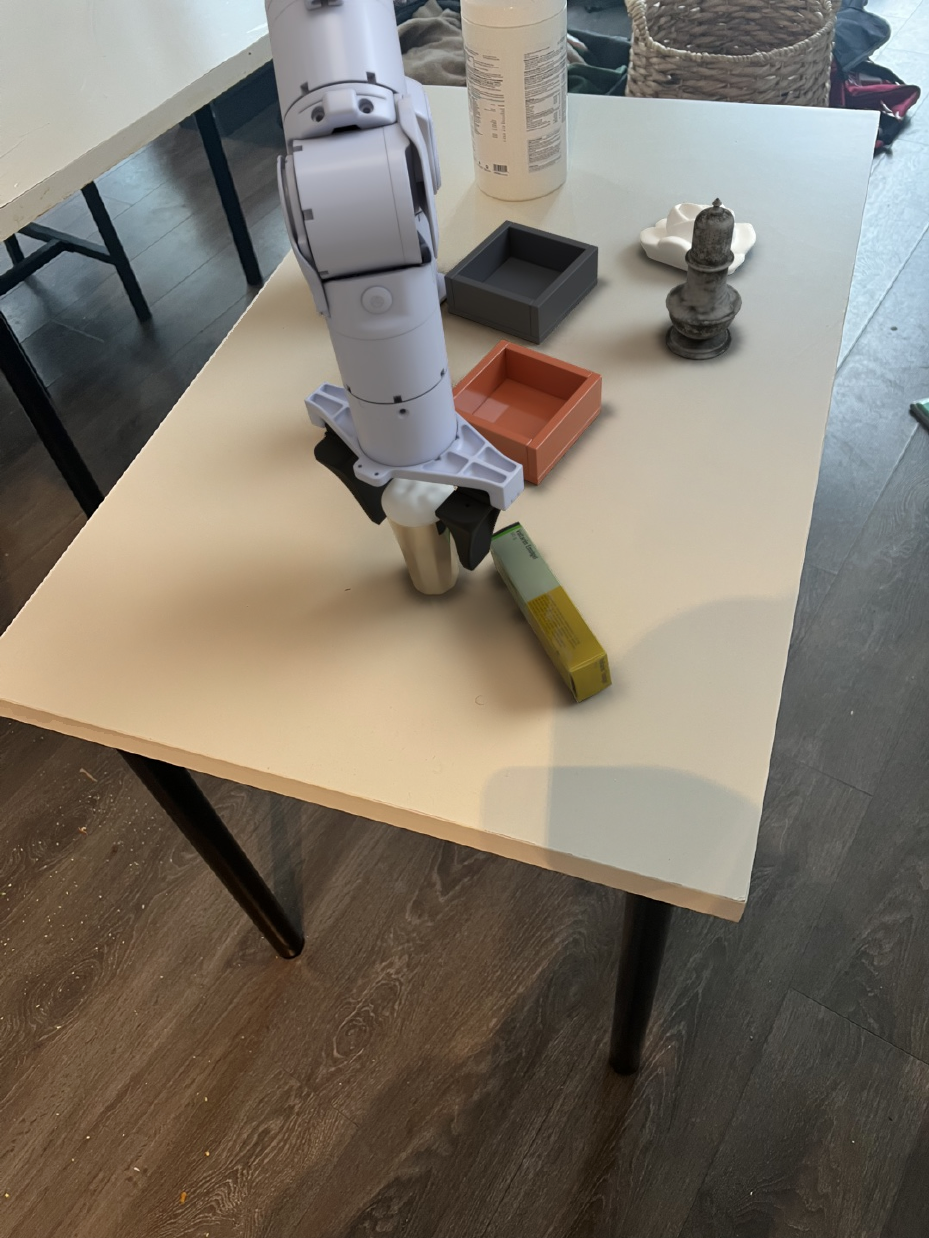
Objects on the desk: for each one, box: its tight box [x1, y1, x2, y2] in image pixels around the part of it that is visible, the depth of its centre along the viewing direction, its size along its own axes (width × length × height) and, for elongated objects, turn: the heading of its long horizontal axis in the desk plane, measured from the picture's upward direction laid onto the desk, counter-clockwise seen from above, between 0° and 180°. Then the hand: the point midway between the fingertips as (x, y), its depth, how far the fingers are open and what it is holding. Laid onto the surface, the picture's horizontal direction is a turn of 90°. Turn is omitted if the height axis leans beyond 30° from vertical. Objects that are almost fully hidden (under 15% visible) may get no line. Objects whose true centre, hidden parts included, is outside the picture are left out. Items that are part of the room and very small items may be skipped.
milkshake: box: [381, 478, 459, 596], centre depth 56 cm, size 5×5×10 cm
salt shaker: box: [665, 197, 743, 360], centre depth 67 cm, size 6×6×12 cm
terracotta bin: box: [452, 339, 603, 486], centre depth 66 cm, size 9×9×4 cm
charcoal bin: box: [444, 219, 599, 345], centre depth 76 cm, size 10×10×4 cm
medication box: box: [489, 520, 613, 704], centre depth 55 cm, size 12×3×4 cm, turn 24°
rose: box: [638, 201, 757, 276], centre depth 77 cm, size 10×4×10 cm
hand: (429, 535), depth 57 cm, fingers open, 7 cm apart
